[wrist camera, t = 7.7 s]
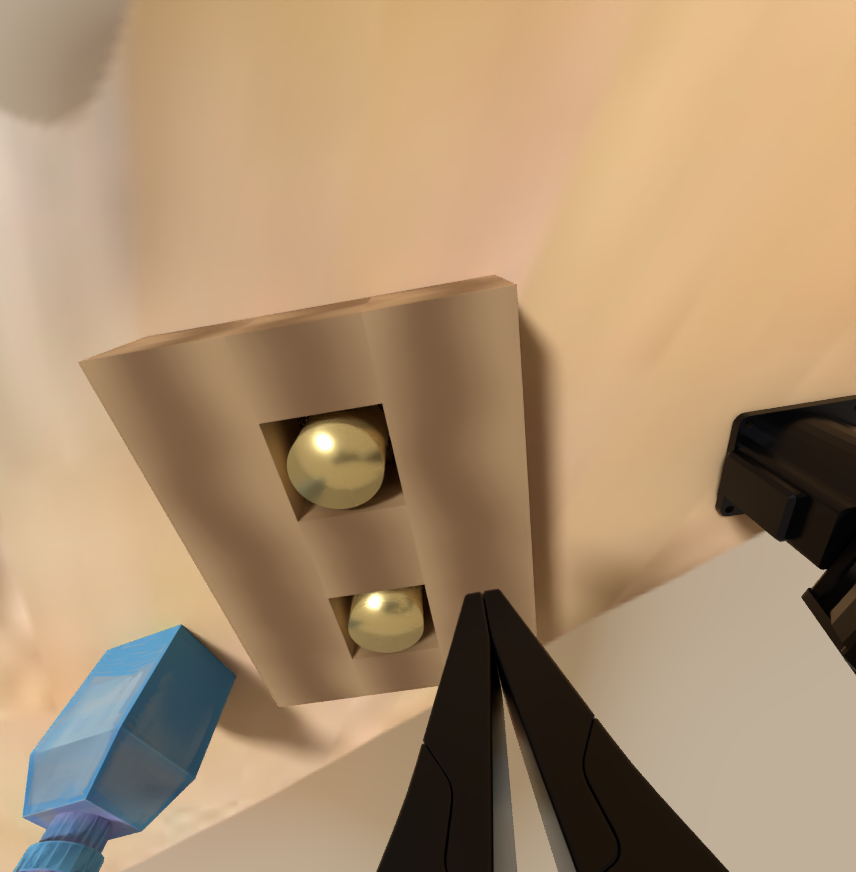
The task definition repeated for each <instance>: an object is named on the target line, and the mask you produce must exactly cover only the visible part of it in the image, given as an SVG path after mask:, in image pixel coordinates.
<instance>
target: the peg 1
mask: <svg viewBox="0 0 856 872" xmlns="http://www.w3.org/2000/svg"><path fill="white" fill-rule="evenodd" d="M388 436H389V430H388V426H387V422H386V417H385V415H384V413H383V412H382V410H381V409H380V408H379V407H378V406H377V405H376V404H375V405H369V406H363V407H357V408H351V409H345V410H339V411H333V412H327V413H321V414H315V415H310V416H309V418H308V420H307V421H306V423H305V425H304V427H303V428H302V430H301V432H300V434H299V435H298V437H297V439H296V441H295V442H294V444H293V446H292V448H291V449H290V451H289V454H288V458H287V471H288V475H289V478H290V480H291V482H292V484H293V486H294V487H295V489H296V490H297V491H298V492H299V493H300V494H301V495H302V496H303V497H305V498H306V499H307V500H309V501H311V502H312V503H315V504H317V505H319V506H322V507H326V508H331V509H348V508H352V507H356V506H359V505H361V504H363V503H365V502H367V501H368V500H370V499H371V498H372V497H373V496H374V495H375V494H376V493H377V491H378V490H379V488H380V486H381V484H382V481H383V477H384V469H385V460H386V452H387V444H388Z"/></svg>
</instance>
